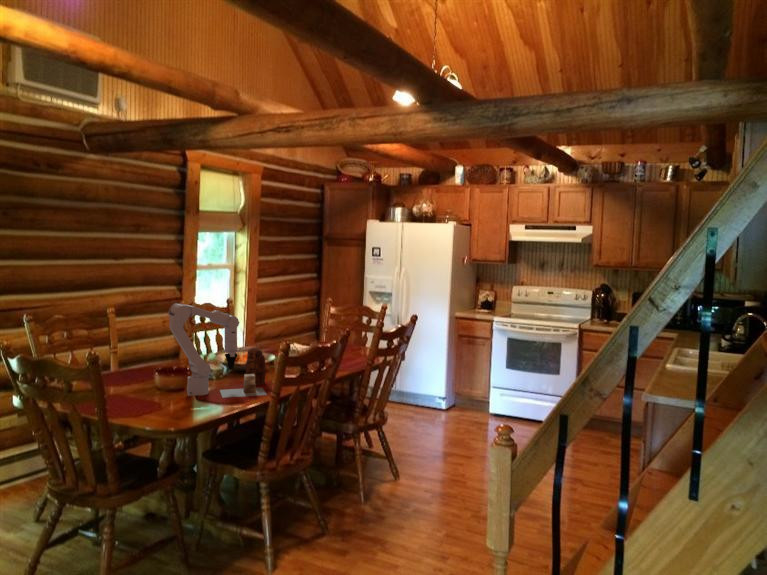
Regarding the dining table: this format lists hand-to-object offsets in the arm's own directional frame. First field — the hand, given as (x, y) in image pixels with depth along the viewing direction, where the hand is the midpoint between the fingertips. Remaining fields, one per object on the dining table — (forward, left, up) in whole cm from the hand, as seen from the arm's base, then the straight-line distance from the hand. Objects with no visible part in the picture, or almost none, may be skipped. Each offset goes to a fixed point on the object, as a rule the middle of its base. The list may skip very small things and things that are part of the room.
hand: (230, 368), depth 295 cm
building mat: (+5, -8, -10) cm, 14 cm away
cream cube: (+8, -8, -6) cm, 12 cm away
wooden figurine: (+13, +10, -11) cm, 19 cm away
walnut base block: (+8, -8, -10) cm, 15 cm away
